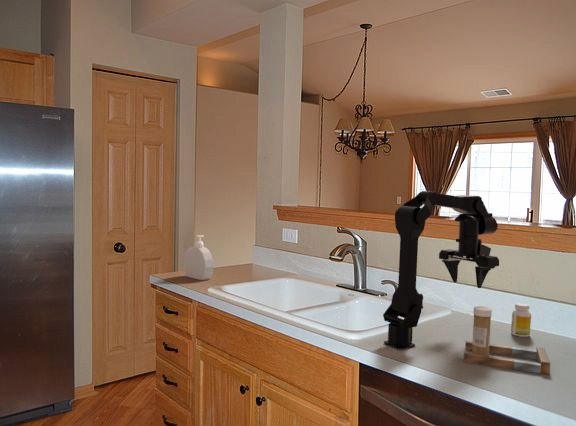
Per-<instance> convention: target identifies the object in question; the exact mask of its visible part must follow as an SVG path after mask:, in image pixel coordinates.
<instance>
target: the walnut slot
mask: <svg viewBox="0 0 576 426" xmlns="http://www.w3.org/2000/svg"><path fill="white" fill-rule="evenodd" d="M472 342H473V341H472V340H465V347H464V348H465V350H469V351H472V348H473V343H472ZM535 348H536V349H528V348H522V347H513V346H507V345H501V344H500V345H499V344H493V343H490V347H489V354H496V355H504V356H510V357H518V358H523V359H530V360H532V359H533V360H536V362H535V361H534V362H532V361H525V360H519V359H513V358H505V357H498V356H491V355H489V356H485V355H478V354H472V352H471V353H470V352H464V353H463V362H464V363H471V364H477V365H482V366H483V365H484V366H490V367H494V368H495V367H496V368H503V369H509V370H517V371H523V372H530V373H536V374H542V375H550V374H551V371H550V370H551V361H550V359H549V355H548V353H547V350H546V348H545V347H544V346H543V347H541V346H536V347H535Z"/></svg>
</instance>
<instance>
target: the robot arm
mask: <svg viewBox="0 0 576 426" xmlns="http://www.w3.org/2000/svg"><path fill="white" fill-rule="evenodd" d="M482 199H483V198H482V197H481V196H480V195H466V194H461V195H460V194H459V195H451V194H446V193H441V192H440V193H439V192H435V191H432V190H422V191H420V192H419V193H418V194H416V195H415V196H414V197H413V198H411V199H409V200H408V201H406V202H405V203H403V204H402V205H401V206H399V208H398V209H397V210H395V213H394V223H395V225H394V226H395V229H396V231H397V233H398V235H399V239H400V240H399V262H398V263H399V264H398V266H399V267H398V283H397V287H396V289H395V291H394V293H392V298H391V303H390V305H388V307H387V308H386V310H385V312H384V313H383V314H382V316H383V317H382V318H383V321H384V322H388V329H387V333H388V334H387V340H384V341H383V344H385V345H387V346H390V347H392V348H394V349H397V350H403V349H408V348H409V349H410V348H412V347H416V343H413V328H416V327H417V326H418V324H419V320H420V317H421V315H422V310H423V309H424V304H423V301H424V295H423V293H420V292H418V290H417V273H418V272H417V269H418V253H419V252H418V250H419V249H418V248H419V238H420V236H421V235H422V233H423V231H424V230H425V226H426V221H427V220H428V218H430V216H431V215H432V214H433V208H434V207H435V206H436V207H442V208H449V209H452V210H453V211H455V212H456V213H459V214H458V215H457V216H456V217H455V218H454V221H455V222H459V224H458V238H455V242H456V243H458V247H457V248H458V249H449V248H447V249H441V250H440V251H439V253H438V259H439V260H441V262H442V263H443V264H444V266H445V267H446V269H447V270H448V271H447V272H448V274H449V275H450V278H451V279H452V282H453V283H454V284H455V283H457V282H458V276H459V275H458V274H459V273H458V271H459V265H460V263H461V261H468V262H473V263H475V264H476V266H475V267H474V270H475V279H476V287H477V289H481V288H482V286H483V284H484V283H485V279H486V276H487V275H488V273H490V272H489V271H491V270H494V269H495V268H496V267H499V266H500V259H499V258H498V257H499V256H495V255H491V251H492V248H491V247H490V246H487V245H485V244H482V239H481V238H479V236H480V235H481V236H482V235H493V234H494V233H496V232H497V230H498V228H499V227H498V225H499V224H498V221H497V220H496V218H494V216H493V212H489V211H488V210H487V207H486V205H485V203H484V201H483V200H482ZM402 318H403V319H402Z"/></svg>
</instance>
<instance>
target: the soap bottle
mask: <svg viewBox="0 0 576 426" xmlns="http://www.w3.org/2000/svg"><path fill="white" fill-rule="evenodd" d="M204 237H205V235H204V234H200V235H198V234H197V235H196V241H195V242H194V243H193V246H191V247H189V248H188V249H187V251H186V252H185V256H184V261H183V265H184V266H183V268H184V272H185V276H186V277H187V278H191V279H194V280H198V281H207V280H210V279H211V277H212V275H213V272H214V266H215V265H214V259H213V256H212V253H211V251H210V250H209V249H208V248H207V247H204V245H205V244H204V242H203V241H202V238H204Z"/></svg>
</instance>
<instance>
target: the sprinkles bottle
mask: <svg viewBox="0 0 576 426" xmlns="http://www.w3.org/2000/svg"><path fill="white" fill-rule="evenodd" d="M492 313H493V310H492V308H490V307H487V306H482V305H481V306H480V305H478V306H474V307H473V325H472V328H473V329H472V341H471V342H472V343H473V348H472V350H471V354H478V355H485V356H490V353H489V347H490V344H491V318H492V315H493V314H492Z"/></svg>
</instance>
